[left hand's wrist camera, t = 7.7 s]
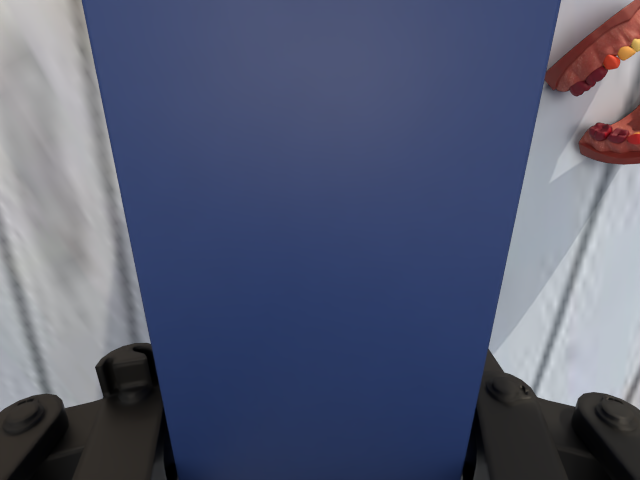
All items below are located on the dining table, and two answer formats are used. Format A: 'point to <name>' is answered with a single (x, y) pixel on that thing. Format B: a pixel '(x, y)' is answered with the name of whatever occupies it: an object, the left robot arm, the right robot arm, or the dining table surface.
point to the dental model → (590, 67)
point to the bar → (320, 219)
